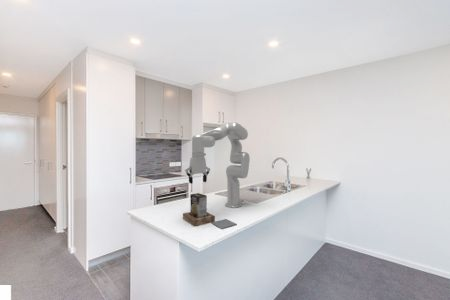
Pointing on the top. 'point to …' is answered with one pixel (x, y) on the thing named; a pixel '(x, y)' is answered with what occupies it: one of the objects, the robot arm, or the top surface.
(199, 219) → the pocket holder
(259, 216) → the top surface
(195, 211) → the coffee box
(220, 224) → the rubber mat
